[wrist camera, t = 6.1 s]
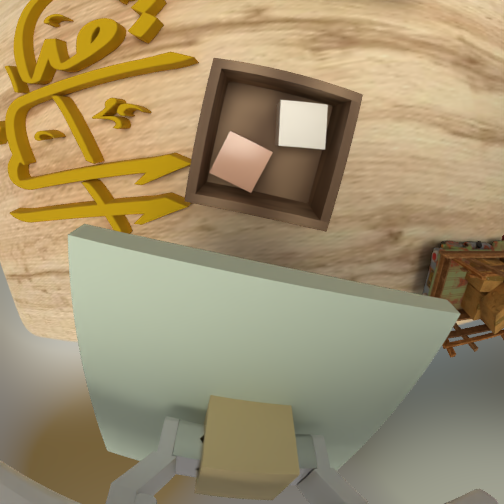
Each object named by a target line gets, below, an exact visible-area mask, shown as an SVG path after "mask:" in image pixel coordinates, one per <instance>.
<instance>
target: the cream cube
mask: <svg viewBox="0 0 504 504" xmlns="http://www.w3.org/2000/svg"><path fill="white" fill-rule="evenodd" d="M327 110H328V105H326V104H318V103H309V102H299V101H288V100H280V102H279V103H278V104H277V119H276V140H275V144H276V145H278V146H290V147H303V148H314V149H324V150H325V144H326V128H327Z"/></svg>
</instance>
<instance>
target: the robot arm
mask: <svg viewBox="0 0 504 504" xmlns="http://www.w3.org/2000/svg"><path fill="white" fill-rule="evenodd" d="M204 434H205V424H201V423H195V422H190V421H185V420H181V419H177V418H172V417H168V416H166V418H165V420H164V424H163V429H162V433H161V437H160V441H159V446H158V450H157V452H155V451H153V452H151V453H150V454H149V455H148V456H146V457H145V458H144V459H143V460H141V461H140V462H139V463H138V464H136V465H135V466H133V467H132V468H131V469H130V470H128V471H127V472H126V473H124V474H123V475H122V476H120V477H119V478H118V479H116V480H115V481H113V482H112V483H111V487H110V490H109V494H108V497H107V501H106V504H157V500H156V499H155V498H154V495H155V493H157V492H158V491H159V490H160V489H161V488H162V487H163V486H164V485H165V484H166V483H167V482H168V481H169V480H170V479H171V478H172V477H174V476H175V474H180V475H185V476H191V477H197V475H198V471H199V467H200V464H201V460H202V451H203V439H204ZM295 437H296V446H297V454H298V462H299V470H300V475H299V476H298V477H297V478H296V479H295V480H294V481H292V482H291V483H290V484H289V485H297V488H298V489H299V491H300V492H301V493H302V495H303V496H304V497H305V498H306V500H307V501H308V502H309V503H310V504H368V501H366V500H365V499H364V498H363V497H362V496H361V495H360V494H359V493H358V492H357V491H356V490H355V489H354V488H353V487H352V486H351V485H350V484H349V483H348V482H347V481H346V480H345V479H344V478H343V477H342V476H341V475H340V474H339V473H338V472H337V471H336V470H335V469H334V468H330V464H329V459H328V454H327V449H326V444H325V439H324V437H323V435H312V434H295ZM0 504H80V503H78V502H76V501H73V500H71V499H69V498H66V497H64V496H62V495H60V494H58V493H56V492H54V491H52V490H50V489H48V488H46V487H44V486H42V485H40V484H39V483H37V482H35V481H33V480H31V479H30V478H28V477H26V476H25V475H23V474H21V473H20V472H18V471H16V470H15V469H13V468H12V467H10V466H8V465H7V464H5V463H4V462H2V461H1V460H0ZM445 504H498V502H497V501H496V499H495V498H493V497H492V496H491V495H489V494H488V493H486V492H485V491H483V490H481V489H475V490H473V491H471V492H469V493H467V494H465V495H462V496H461V497H458V498H456V499H454V500H452V501H449V502H447V503H445Z"/></svg>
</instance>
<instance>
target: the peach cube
mask: <svg viewBox="0 0 504 504" xmlns="http://www.w3.org/2000/svg"><path fill="white" fill-rule="evenodd" d="M272 153H273V152H272V151H271V150H270V149H268V148H266V147H264V146H262V145H260V144H258V143H256V142H254V141H252V140H250V139H248V138H246V137H244V136H242V135H240V134H238V133H236V132H233V131H230V132H229V134H228V136H227V138H226V140H225V142H224V144H223V146H222V148H221V150H220V152H219V154H218V156H217V158H216V160H215V162H214V164H213V166H212V168H211V170H210V172H209V173H211V174H213V175H215V176H217V177H219V178H221V179H223V180H226V181H228V182H230V183H232V184H234V185H236V186H238V187H240V188H242V189H244V190H246V191H248V192H250V193H251V192H252V190H253V188H254V186H255V185H256V183H257V181H258V179H259V177H260V175H261V173H262V172H263V170H264V168H265V166H266V164H267V162H268V160H269V159H270V157H271V155H272Z"/></svg>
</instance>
